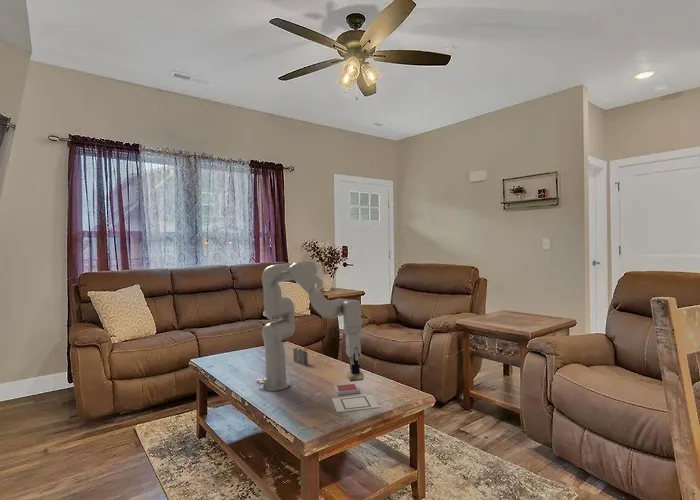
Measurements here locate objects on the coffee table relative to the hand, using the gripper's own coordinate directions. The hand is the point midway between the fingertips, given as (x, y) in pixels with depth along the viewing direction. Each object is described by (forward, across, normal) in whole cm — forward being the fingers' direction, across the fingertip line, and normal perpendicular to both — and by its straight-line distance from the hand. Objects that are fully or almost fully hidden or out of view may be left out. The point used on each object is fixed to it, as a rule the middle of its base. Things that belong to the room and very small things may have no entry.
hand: (354, 371), depth 171 cm
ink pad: (+14, -15, -2) cm, 21 cm away
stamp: (+3, 0, 0) cm, 3 cm away
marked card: (+14, 0, 0) cm, 14 cm away
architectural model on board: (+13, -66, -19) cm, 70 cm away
